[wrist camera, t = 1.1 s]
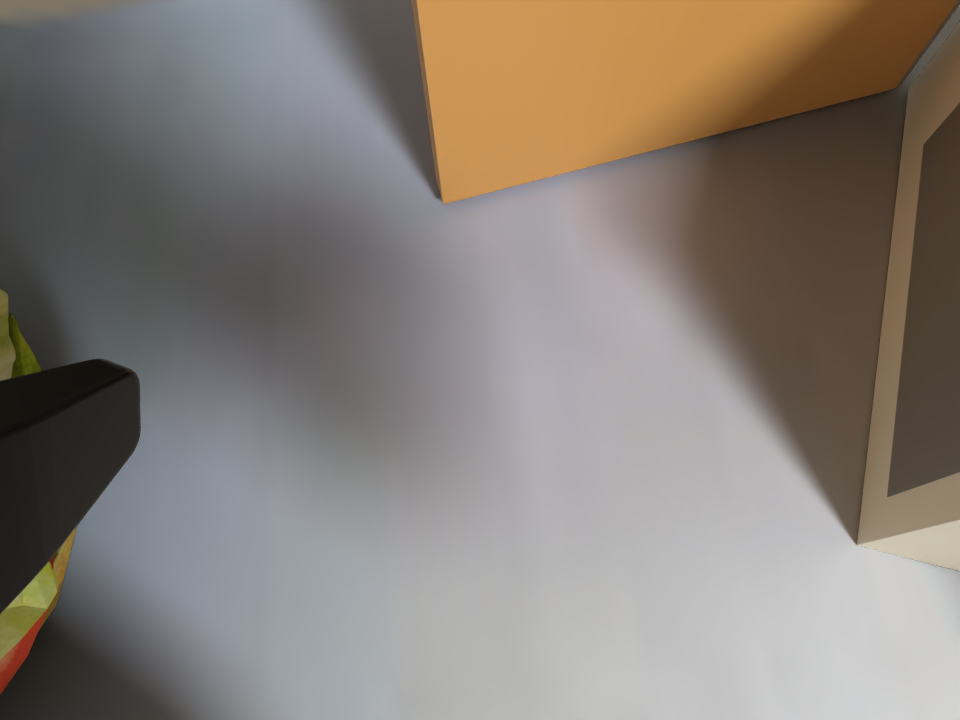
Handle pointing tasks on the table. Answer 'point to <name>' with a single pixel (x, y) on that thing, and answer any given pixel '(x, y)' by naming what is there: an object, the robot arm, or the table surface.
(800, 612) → the table surface
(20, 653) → the food
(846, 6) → the side door
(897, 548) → the action camera
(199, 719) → the table surface
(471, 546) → the table surface
